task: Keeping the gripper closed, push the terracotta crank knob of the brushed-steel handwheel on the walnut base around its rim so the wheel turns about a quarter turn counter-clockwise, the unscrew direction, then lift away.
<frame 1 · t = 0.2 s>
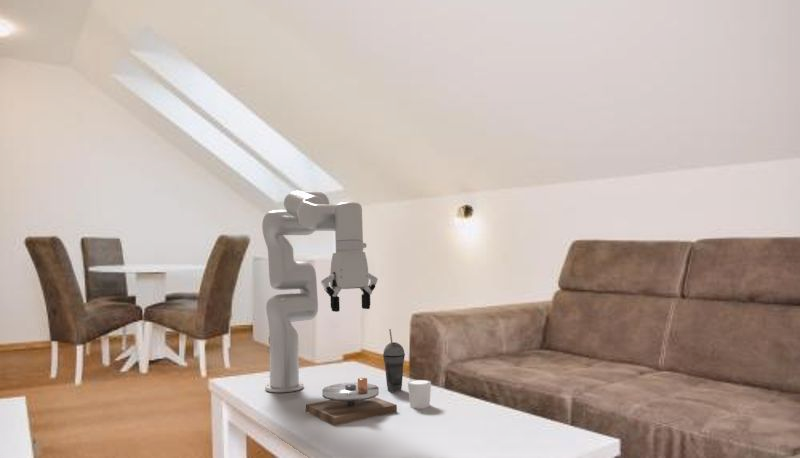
hand: (351, 310, 157), 30 cm above the table, tool pointing down, fingers open, 9 cm apart
beverage cup: (394, 391, 188), on the table
wheel base: (350, 411, 164), on the table
handwheel: (350, 384, 164), point 8 cm above the table, hinge at 0.0°
white faceted cup: (419, 406, 169), on the table
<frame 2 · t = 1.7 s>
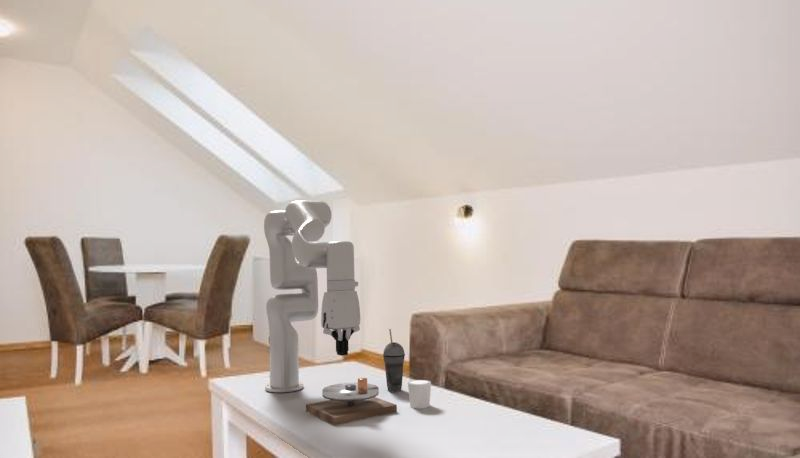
hand: (342, 354, 155), 18 cm above the table, tool pointing down, fingers closed
nothing on the table moved.
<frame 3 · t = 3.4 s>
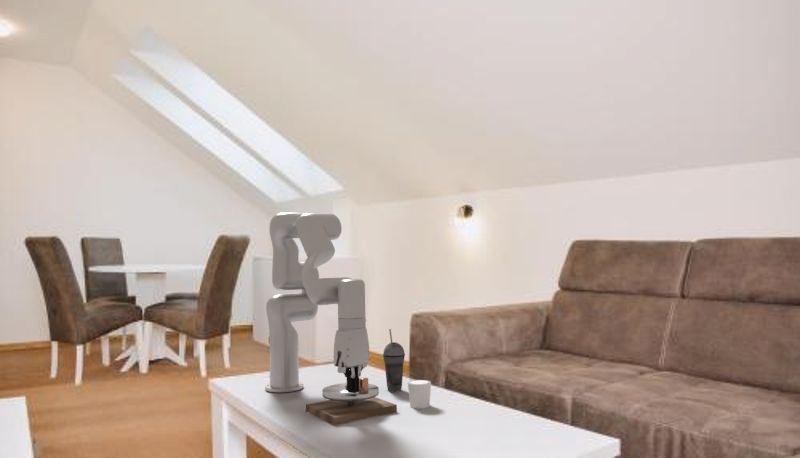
hand: (353, 391, 157), 7 cm above the table, tool pointing down, fingers closed
handwheel: (350, 384, 164), point 8 cm above the table, hinge at 3.1°, touching gripper
everything else where it was.
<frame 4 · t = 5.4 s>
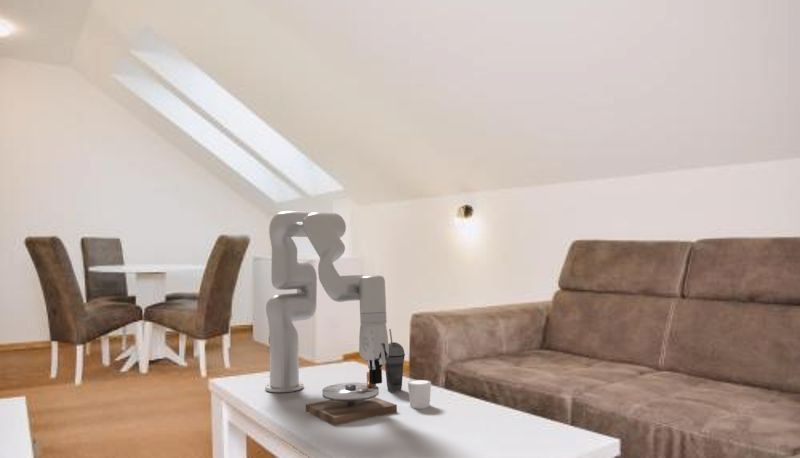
hand: (375, 383, 164), 8 cm above the table, tool pointing down, fingers closed
handwheel: (350, 384, 164), point 8 cm above the table, hinge at 81.5°, touching gripper
everything else where it was.
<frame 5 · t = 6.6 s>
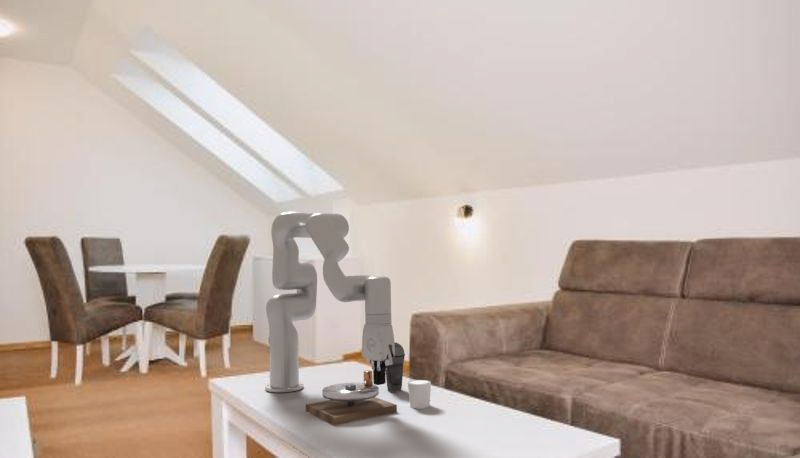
hand: (379, 383, 165), 8 cm above the table, tool pointing down, fingers closed
handwheel: (350, 384, 164), point 8 cm above the table, hinge at 97.1°
everything else where it was.
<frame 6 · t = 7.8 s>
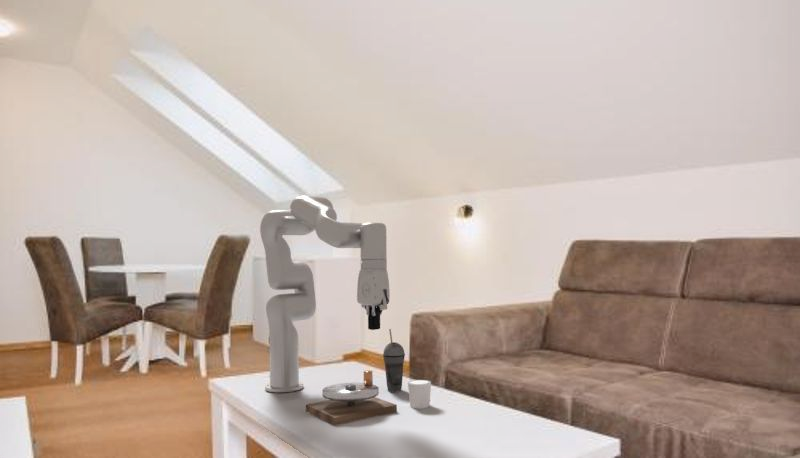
hand: (374, 329, 166), 23 cm above the table, tool pointing down, fingers closed
nothing on the table moved.
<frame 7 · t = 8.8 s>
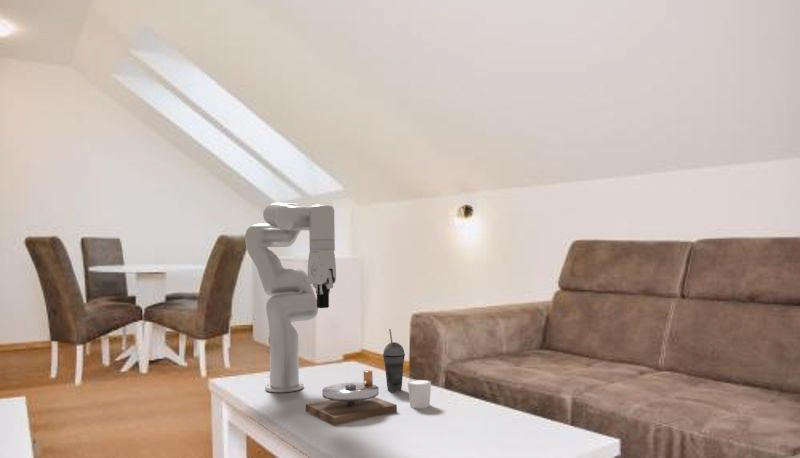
hand: (322, 307, 172), 29 cm above the table, tool pointing down, fingers closed
nothing on the table moved.
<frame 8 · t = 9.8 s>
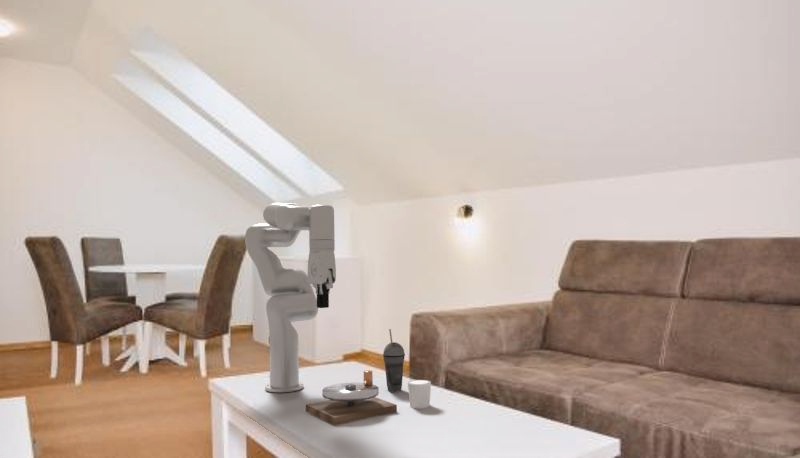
hand: (322, 307, 172), 29 cm above the table, tool pointing down, fingers closed
nothing on the table moved.
at the end: handwheel at +97° (first picture: +0°); white faceted cup moved 0.2 cm from its start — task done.
